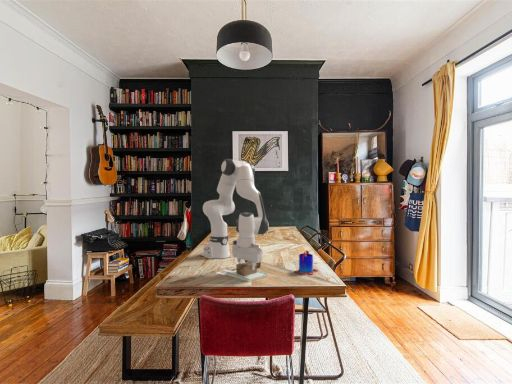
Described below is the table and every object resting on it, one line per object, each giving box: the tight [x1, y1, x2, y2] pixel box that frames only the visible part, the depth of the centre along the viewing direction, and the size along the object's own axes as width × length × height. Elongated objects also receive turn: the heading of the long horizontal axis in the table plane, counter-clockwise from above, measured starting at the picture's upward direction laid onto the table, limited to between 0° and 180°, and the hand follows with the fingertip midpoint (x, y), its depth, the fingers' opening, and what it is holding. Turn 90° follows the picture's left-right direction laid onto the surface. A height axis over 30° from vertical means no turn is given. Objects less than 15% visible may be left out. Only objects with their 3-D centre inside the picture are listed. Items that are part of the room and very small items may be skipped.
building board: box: [225, 269, 269, 283], centre depth 168 cm, size 18×14×2 cm
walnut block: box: [235, 261, 258, 276], centre depth 168 cm, size 6×9×5 cm
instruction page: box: [214, 269, 232, 276], centre depth 174 cm, size 6×9×1 cm, turn 144°
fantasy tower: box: [293, 250, 319, 276], centre depth 175 cm, size 12×12×12 cm
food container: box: [244, 249, 264, 269], centre depth 184 cm, size 12×6×10 cm, turn 117°
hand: (246, 267), depth 168 cm, fingers open, 8 cm apart
